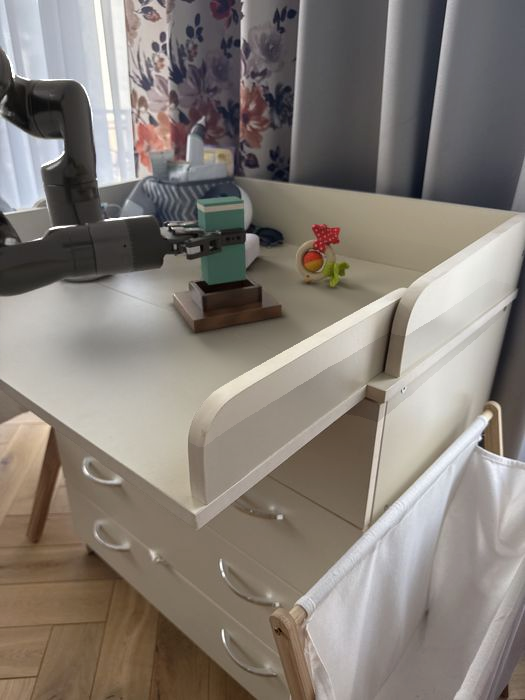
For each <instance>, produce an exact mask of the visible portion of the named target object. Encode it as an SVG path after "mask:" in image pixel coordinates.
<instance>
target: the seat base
mask: <svg viewBox="0 0 525 700" xmlns="http://www.w3.org/2000/svg"><path fill="white" fill-rule="evenodd" d="M172 301H173V306H174V307H175V309H176V310H177V311H178V312H179V314H180V315H181V316H182V318H183V319H184V321H185V322H186V323H187V325H188V326H189V327H190V329H191V330H192V331H193V333H200V332H205V331H211V330H215V329H222V328H227V327H231V326H237V325H238V326H239V325H242V324H248V323H253V322H258V321H264V320H270V319H274V318H275V319H276V318H279V317H282V304H281V303H280V302H279V301H278V300H276V299H275V298H274V297H273V296H271V294H269V293H268V292H267V291H265V290H264V289H263V286H262V285H261V284H260V283H259V282H257V281H256V280H255V279H253V278H252V277H251V276H250V275H249V274H247V273H246V280H240V281H233V282H226V283H220V284H213V285H209V284H208V283H207V282H206V281H205V280H204V279H203V278H202V279H195V280H189V281H188V290H186V291H185V290H184V291H180V292H173V293H172Z"/></svg>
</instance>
